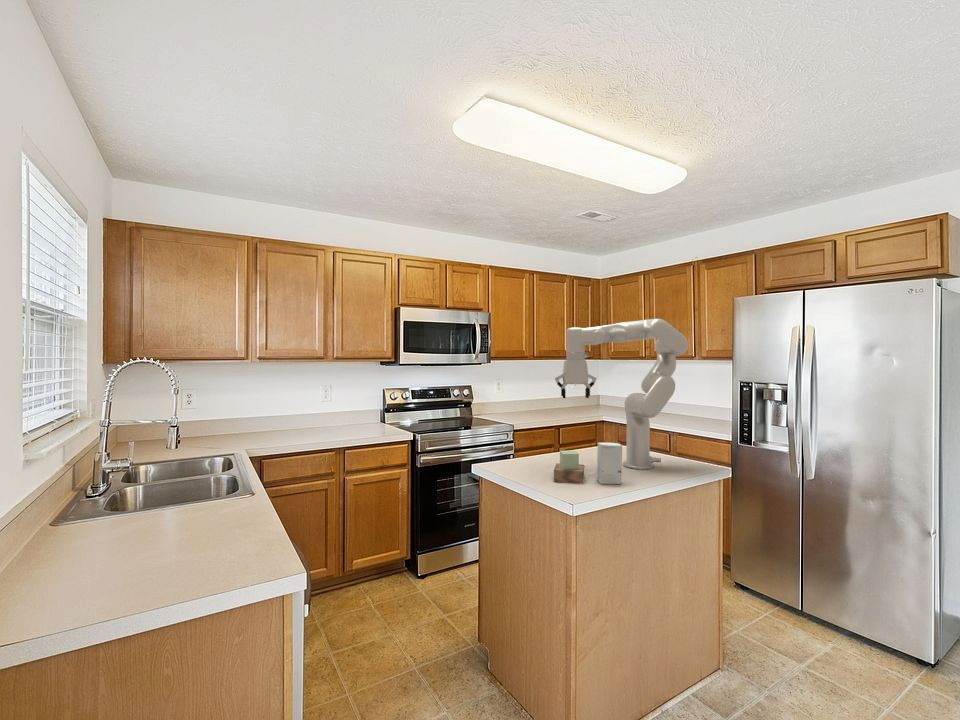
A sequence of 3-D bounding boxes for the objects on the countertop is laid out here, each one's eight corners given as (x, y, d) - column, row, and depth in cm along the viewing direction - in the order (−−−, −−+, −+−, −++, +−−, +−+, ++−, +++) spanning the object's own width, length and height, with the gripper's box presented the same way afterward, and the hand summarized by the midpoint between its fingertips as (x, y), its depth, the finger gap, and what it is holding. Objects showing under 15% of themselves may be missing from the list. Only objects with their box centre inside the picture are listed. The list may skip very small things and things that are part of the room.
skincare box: (600, 484, 181) (600, 445, 180) (596, 480, 187) (596, 441, 186) (622, 484, 181) (622, 444, 180) (618, 479, 187) (618, 441, 186)
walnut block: (584, 477, 192) (584, 464, 192) (583, 484, 182) (583, 471, 182) (556, 475, 195) (556, 463, 195) (553, 482, 184) (553, 469, 184)
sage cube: (575, 465, 191) (575, 450, 191) (578, 469, 185) (578, 453, 185) (560, 465, 191) (559, 450, 191) (563, 469, 185) (563, 454, 185)
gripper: (594, 356, 205) (594, 396, 205) (553, 357, 205) (553, 397, 205) (598, 357, 197) (598, 398, 198) (556, 357, 197) (556, 399, 198)
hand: (575, 397), depth 201 cm, fingers open, 9 cm apart
